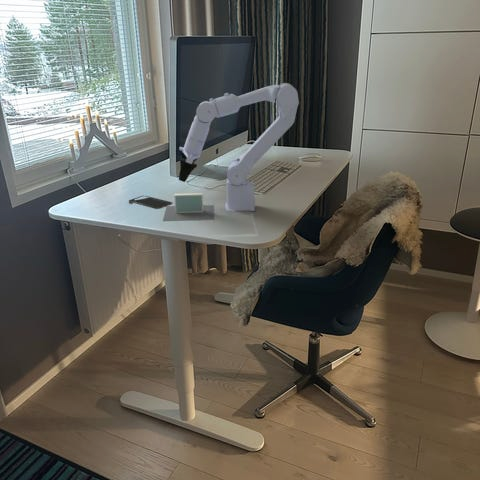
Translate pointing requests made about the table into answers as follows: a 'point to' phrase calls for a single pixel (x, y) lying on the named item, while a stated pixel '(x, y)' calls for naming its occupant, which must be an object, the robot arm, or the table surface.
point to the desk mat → (189, 214)
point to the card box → (188, 202)
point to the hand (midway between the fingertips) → (182, 177)
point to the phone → (151, 202)
